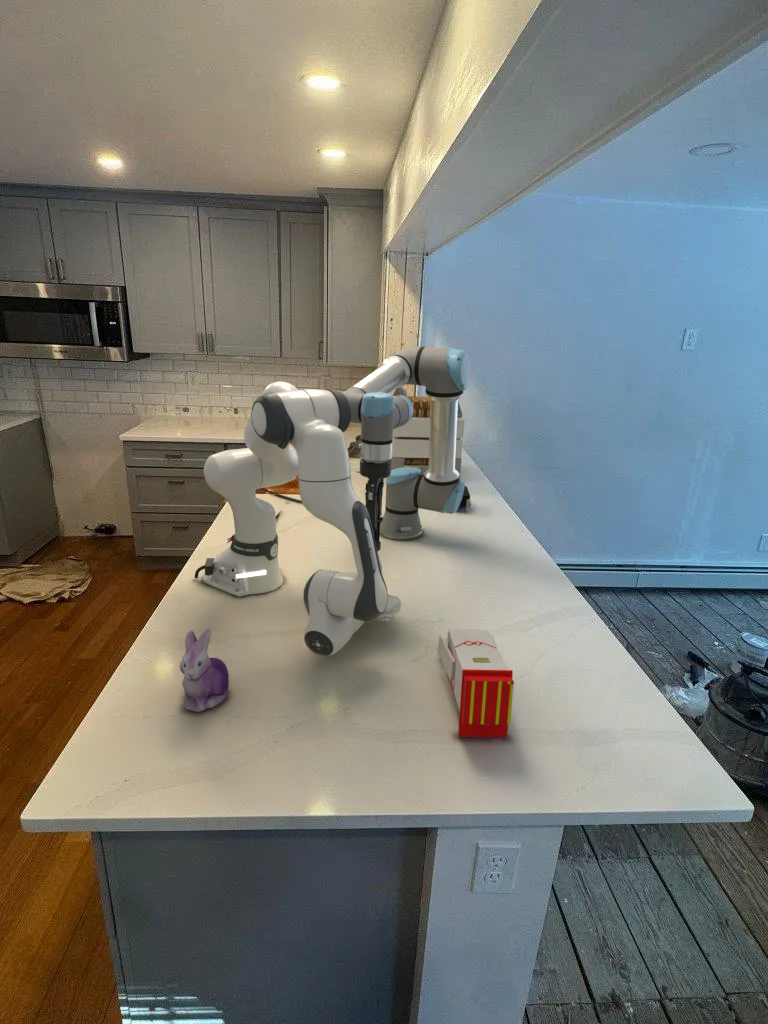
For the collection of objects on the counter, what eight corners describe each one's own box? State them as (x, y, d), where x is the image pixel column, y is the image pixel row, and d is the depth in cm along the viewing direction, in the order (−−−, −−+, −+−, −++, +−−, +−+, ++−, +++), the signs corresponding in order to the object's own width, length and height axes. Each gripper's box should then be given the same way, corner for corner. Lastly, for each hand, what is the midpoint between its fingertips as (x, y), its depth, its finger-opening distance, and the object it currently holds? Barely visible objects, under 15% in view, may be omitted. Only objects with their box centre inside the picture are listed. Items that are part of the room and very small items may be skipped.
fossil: (346, 440, 316) (367, 425, 311) (357, 453, 319) (378, 438, 314) (340, 453, 296) (362, 438, 291) (351, 468, 299) (374, 452, 294)
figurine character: (470, 516, 223) (465, 500, 237) (473, 499, 220) (467, 484, 233) (453, 516, 223) (449, 500, 236) (455, 498, 220) (451, 483, 233)
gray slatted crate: (382, 463, 289) (386, 382, 275) (445, 464, 293) (451, 384, 279) (390, 482, 257) (394, 392, 243) (460, 483, 261) (468, 394, 247)
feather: (288, 505, 226) (290, 501, 226) (271, 529, 199) (273, 524, 199) (284, 503, 226) (287, 499, 225) (266, 526, 199) (269, 522, 199)
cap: (367, 552, 141) (367, 546, 140) (362, 546, 144) (362, 539, 144) (382, 551, 142) (383, 544, 141) (377, 544, 146) (377, 538, 145)
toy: (488, 613, 130) (523, 677, 101) (484, 667, 133) (517, 744, 104) (435, 612, 130) (455, 676, 101) (432, 666, 133) (451, 743, 103)
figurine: (186, 720, 107) (180, 652, 102) (178, 689, 115) (171, 624, 110) (237, 706, 111) (233, 640, 106) (225, 677, 119) (221, 615, 114)
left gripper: (390, 609, 131) (410, 584, 143) (312, 590, 138) (337, 568, 150) (389, 632, 133) (408, 606, 145) (312, 613, 140) (337, 589, 152)
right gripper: (366, 449, 144) (363, 535, 152) (353, 467, 128) (351, 561, 136) (395, 451, 143) (391, 537, 151) (386, 469, 127) (382, 564, 135)
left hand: (371, 587), depth 148 cm, fingers closed on bottle, 5 cm apart
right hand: (372, 548), depth 143 cm, fingers closed on cap, 4 cm apart
